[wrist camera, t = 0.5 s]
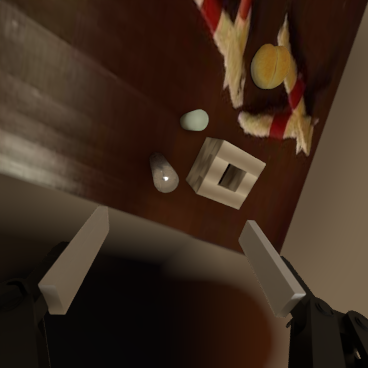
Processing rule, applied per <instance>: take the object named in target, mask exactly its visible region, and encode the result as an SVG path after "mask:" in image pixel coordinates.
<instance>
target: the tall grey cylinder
mask: <svg viewBox="0 0 368 368" xmlns="http://www.w3.org/2000/svg"><path fill="white" fill-rule="evenodd" d="M149 160H150V165H151V170H152V175H153V180H154V184H155V187H156V188H157V189H158V190H159V191H161V192H171V191H173V190H174V189H175V188H176V187H177V185H178V182H179V178H178V175H177V174H176V172H175V171H174V170H173V168H172V167H171V165H170V164H169V163H168V161H167V160H166V158H165V157H164V156H163V154H161V153H159V152H154V153H153V154H151V156H150V159H149Z"/></svg>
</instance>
